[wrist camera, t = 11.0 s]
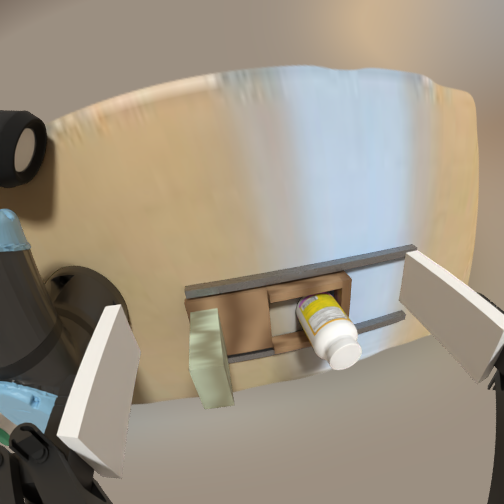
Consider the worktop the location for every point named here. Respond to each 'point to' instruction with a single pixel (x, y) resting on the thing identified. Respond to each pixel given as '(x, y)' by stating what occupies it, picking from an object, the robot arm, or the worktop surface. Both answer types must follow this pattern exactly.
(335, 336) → the supplement bottle
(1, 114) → the portable speaker
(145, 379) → the worktop surface
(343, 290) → the wooden holder tray
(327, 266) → the lane rails
